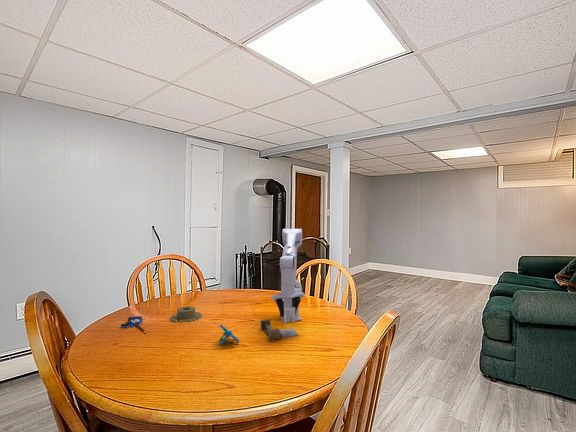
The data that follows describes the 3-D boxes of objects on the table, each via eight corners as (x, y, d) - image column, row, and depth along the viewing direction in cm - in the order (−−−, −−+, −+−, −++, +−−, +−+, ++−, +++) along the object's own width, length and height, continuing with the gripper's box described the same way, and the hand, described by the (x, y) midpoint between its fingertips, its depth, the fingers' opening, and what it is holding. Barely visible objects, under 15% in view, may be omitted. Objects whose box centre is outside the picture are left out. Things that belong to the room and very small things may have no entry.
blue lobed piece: (243, 342, 116) (224, 325, 114) (232, 355, 114) (213, 338, 112) (236, 335, 126) (219, 320, 124) (227, 347, 124) (209, 332, 122)
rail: (260, 329, 134) (260, 320, 134) (269, 327, 135) (269, 318, 135) (270, 341, 120) (270, 331, 120) (279, 340, 122) (279, 330, 122)
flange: (162, 311, 145) (188, 315, 139) (184, 303, 159) (208, 306, 153) (162, 321, 145) (187, 325, 139) (184, 312, 159) (208, 315, 153)
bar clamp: (116, 319, 140) (139, 314, 147) (116, 324, 140) (139, 319, 147) (140, 343, 117) (166, 336, 124) (140, 349, 117) (166, 341, 124)
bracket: (280, 320, 130) (280, 305, 130) (291, 318, 131) (291, 304, 131) (284, 323, 126) (284, 308, 126) (295, 321, 128) (295, 307, 128)
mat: (277, 331, 131) (277, 330, 131) (292, 329, 133) (292, 328, 133) (282, 337, 124) (282, 336, 124) (298, 335, 127) (298, 333, 127)
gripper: (274, 287, 122) (274, 320, 122) (307, 284, 128) (307, 316, 128) (269, 283, 129) (269, 315, 129) (300, 281, 134) (300, 311, 134)
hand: (287, 315), depth 129 cm, fingers closed on bracket, 5 cm apart
